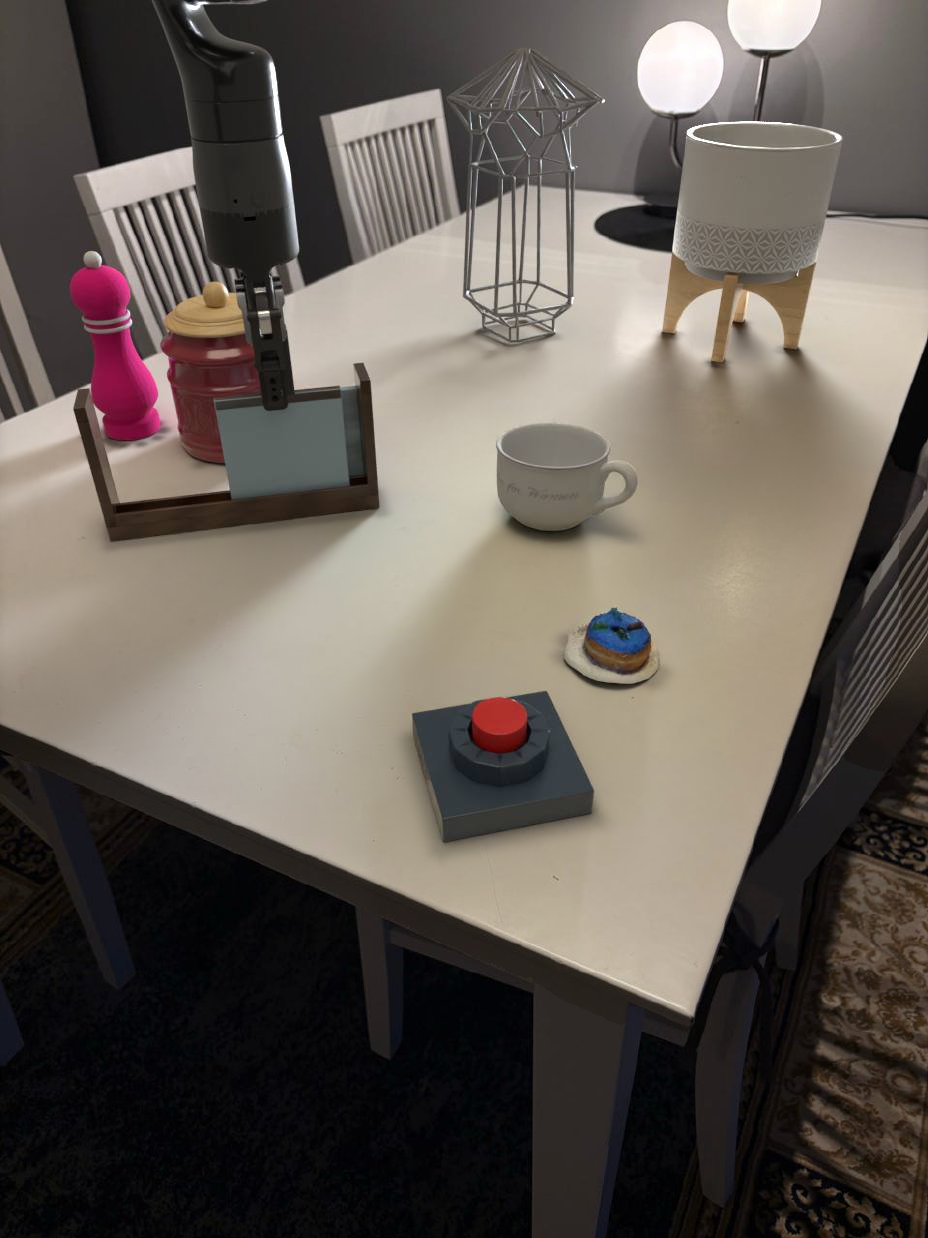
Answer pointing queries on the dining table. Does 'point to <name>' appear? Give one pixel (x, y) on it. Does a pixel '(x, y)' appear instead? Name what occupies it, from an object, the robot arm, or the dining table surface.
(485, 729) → the button
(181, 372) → the kitchen canister
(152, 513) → the window frame
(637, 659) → the dessert
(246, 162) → the robot arm
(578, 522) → the teacup
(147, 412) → the pepper mill
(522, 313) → the geometric lantern
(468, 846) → the dining table surface
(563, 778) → the button box
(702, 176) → the planter
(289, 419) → the window pane
